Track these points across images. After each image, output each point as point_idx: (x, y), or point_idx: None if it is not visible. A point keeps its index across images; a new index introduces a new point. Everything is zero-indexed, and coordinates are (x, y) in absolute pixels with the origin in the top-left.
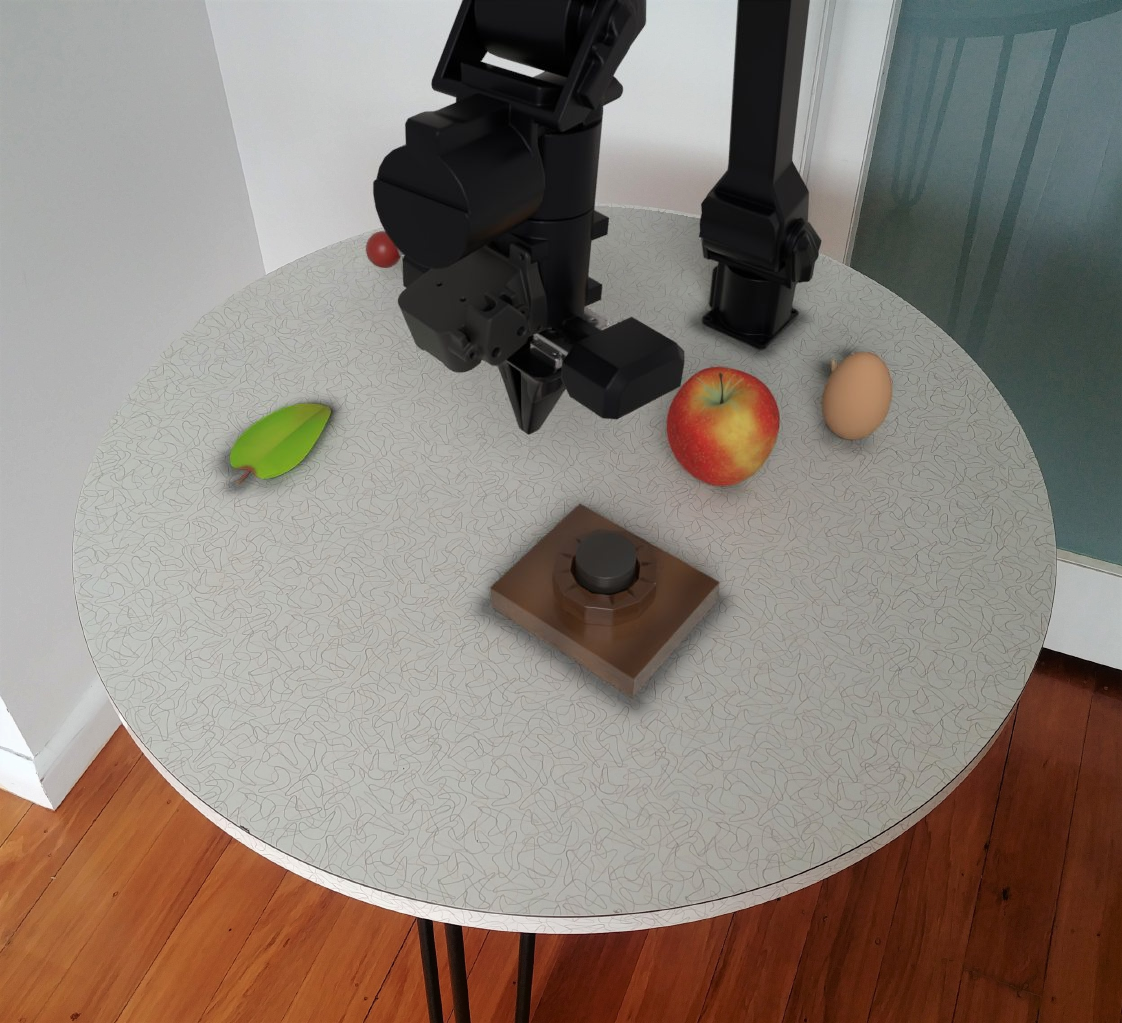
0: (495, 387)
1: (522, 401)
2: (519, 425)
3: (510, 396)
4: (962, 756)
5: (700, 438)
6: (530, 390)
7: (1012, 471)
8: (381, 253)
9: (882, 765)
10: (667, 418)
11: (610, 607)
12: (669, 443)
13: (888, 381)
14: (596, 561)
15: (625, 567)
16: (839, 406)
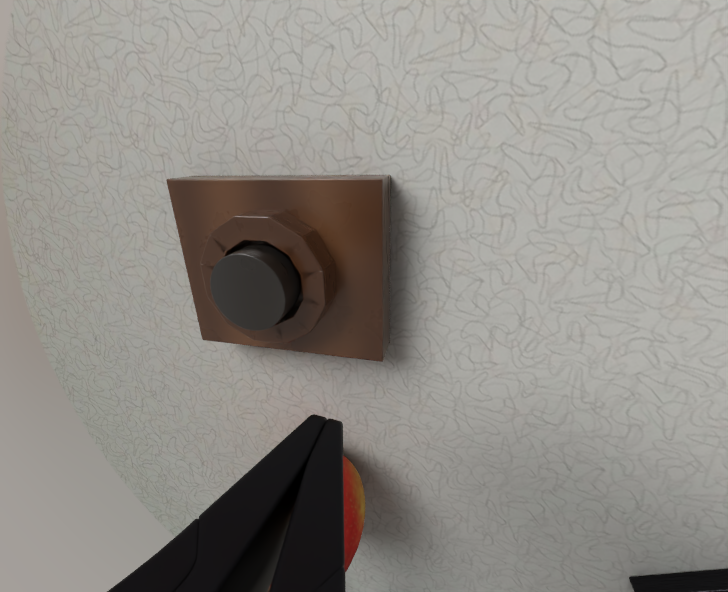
0: (631, 481)
1: (262, 512)
2: (333, 430)
3: (327, 516)
4: (25, 294)
5: None
6: (154, 583)
7: (172, 525)
8: None
9: (41, 253)
10: (350, 507)
11: (213, 234)
12: (344, 475)
13: None
14: (246, 277)
15: (215, 289)
16: None
